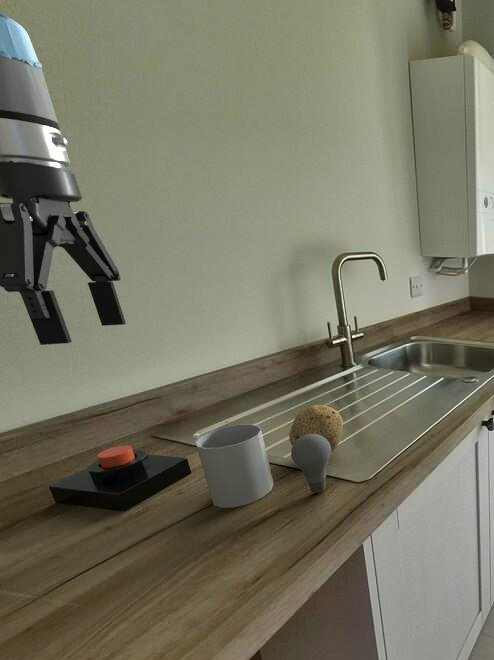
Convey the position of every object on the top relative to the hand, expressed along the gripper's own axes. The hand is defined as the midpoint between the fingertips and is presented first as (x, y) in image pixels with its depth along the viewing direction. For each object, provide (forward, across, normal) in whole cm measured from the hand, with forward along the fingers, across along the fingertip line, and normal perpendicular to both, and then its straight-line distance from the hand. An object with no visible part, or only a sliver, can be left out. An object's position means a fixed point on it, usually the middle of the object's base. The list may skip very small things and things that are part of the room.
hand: (88, 333), depth 58 cm
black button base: (+26, +2, +3) cm, 26 cm away
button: (+21, +2, +3) cm, 21 cm away
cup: (+26, -6, -16) cm, 31 cm away
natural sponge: (+26, +2, -26) cm, 37 cm away
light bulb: (+26, -10, -27) cm, 39 cm away
